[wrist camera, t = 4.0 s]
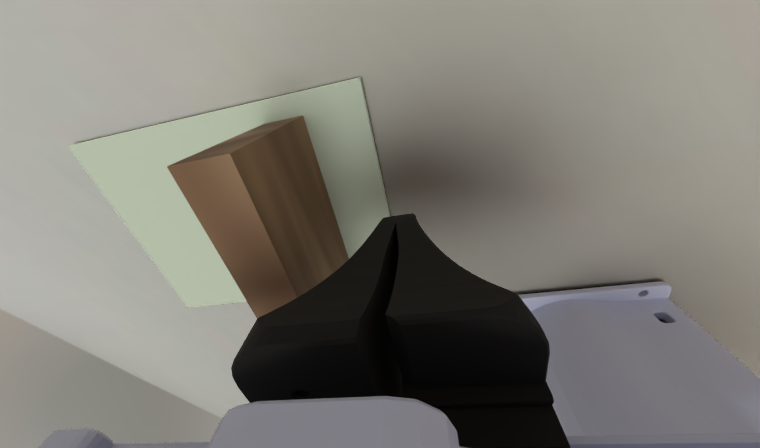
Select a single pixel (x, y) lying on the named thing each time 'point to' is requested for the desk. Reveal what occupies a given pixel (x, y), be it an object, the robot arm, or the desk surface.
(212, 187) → the wooden block
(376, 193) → the mat
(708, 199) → the desk surface
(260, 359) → the robot arm
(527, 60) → the desk surface
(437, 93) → the desk surface
